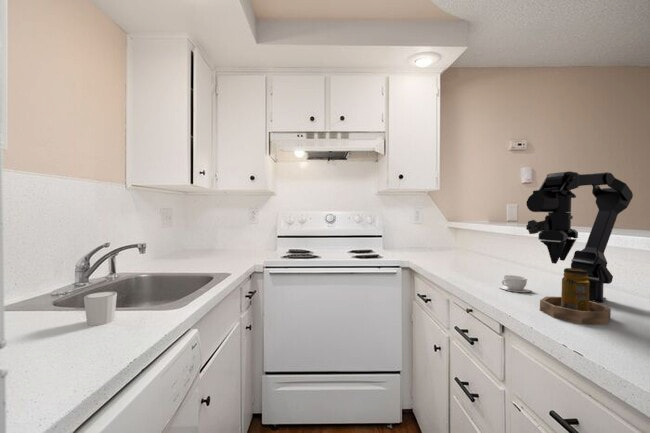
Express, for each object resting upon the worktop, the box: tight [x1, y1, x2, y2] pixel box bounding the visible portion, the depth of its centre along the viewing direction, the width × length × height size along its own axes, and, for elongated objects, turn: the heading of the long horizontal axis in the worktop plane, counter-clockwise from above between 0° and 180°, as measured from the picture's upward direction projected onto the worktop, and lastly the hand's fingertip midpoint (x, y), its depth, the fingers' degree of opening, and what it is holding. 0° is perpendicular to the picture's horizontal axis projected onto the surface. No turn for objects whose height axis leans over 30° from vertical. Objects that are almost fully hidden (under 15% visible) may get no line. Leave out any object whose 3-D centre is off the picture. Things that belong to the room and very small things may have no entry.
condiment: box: [558, 267, 590, 311], centre depth 86 cm, size 7×8×12 cm
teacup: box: [499, 274, 532, 293], centre depth 114 cm, size 10×10×5 cm
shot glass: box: [83, 291, 118, 327], centre depth 79 cm, size 7×7×7 cm
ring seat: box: [539, 296, 612, 326], centre depth 86 cm, size 14×14×3 cm
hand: (558, 261), depth 97 cm, fingers open, 9 cm apart
